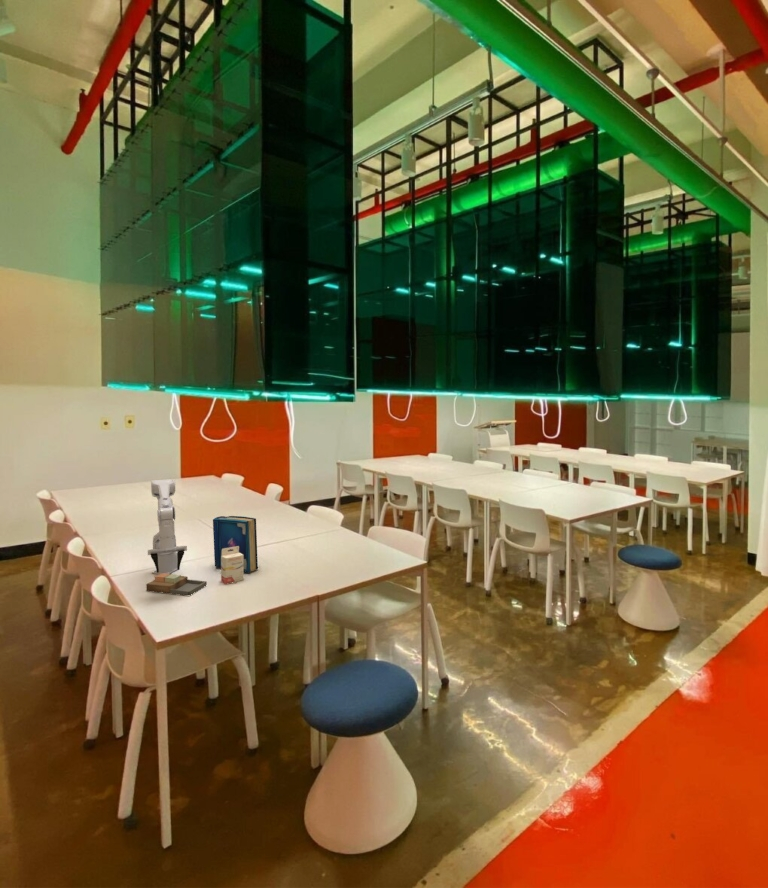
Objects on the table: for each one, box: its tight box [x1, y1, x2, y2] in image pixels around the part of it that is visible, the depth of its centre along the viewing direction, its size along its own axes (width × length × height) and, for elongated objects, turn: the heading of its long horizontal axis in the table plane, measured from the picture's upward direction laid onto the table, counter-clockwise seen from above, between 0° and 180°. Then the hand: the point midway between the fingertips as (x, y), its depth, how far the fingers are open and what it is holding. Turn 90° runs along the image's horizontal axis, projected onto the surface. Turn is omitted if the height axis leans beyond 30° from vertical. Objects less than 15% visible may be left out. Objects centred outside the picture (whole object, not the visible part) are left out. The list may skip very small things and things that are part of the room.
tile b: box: [165, 573, 182, 583], centre depth 207 cm, size 4×4×2 cm
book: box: [212, 515, 259, 574], centre depth 231 cm, size 22×7×25 cm, turn 68°
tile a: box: [154, 573, 172, 582], centre depth 208 cm, size 4×4×2 cm
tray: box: [170, 579, 207, 596], centre depth 206 cm, size 12×9×2 cm
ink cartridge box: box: [220, 546, 245, 585], centre depth 216 cm, size 9×5×15 cm, turn 131°
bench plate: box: [145, 575, 188, 594], centre depth 208 cm, size 12×11×3 cm
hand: (168, 570), depth 198 cm, fingers open, 7 cm apart
